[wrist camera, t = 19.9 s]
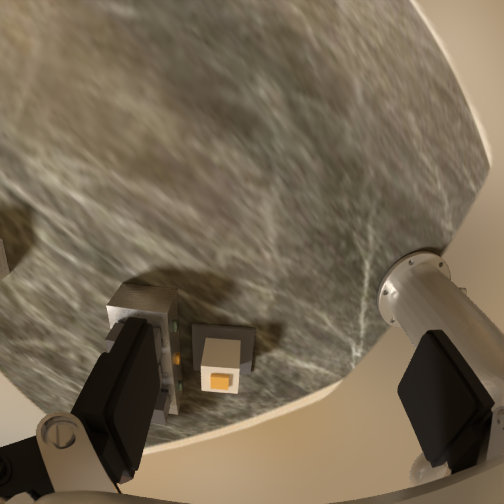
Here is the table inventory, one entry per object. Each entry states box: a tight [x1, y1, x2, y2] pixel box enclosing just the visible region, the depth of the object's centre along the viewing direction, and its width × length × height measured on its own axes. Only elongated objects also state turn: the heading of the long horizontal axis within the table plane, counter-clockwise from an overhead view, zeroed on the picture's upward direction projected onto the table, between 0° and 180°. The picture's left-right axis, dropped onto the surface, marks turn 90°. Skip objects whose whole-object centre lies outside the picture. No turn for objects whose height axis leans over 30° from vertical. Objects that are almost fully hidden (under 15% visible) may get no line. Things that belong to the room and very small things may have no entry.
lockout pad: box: [192, 323, 255, 375], centre depth 45 cm, size 9×9×1 cm
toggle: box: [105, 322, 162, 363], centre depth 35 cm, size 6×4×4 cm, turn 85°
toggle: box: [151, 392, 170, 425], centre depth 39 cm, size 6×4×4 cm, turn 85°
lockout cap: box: [201, 338, 241, 393], centre depth 41 cm, size 5×5×7 cm
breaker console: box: [107, 283, 184, 415], centre depth 42 cm, size 8×20×6 cm, turn 175°
